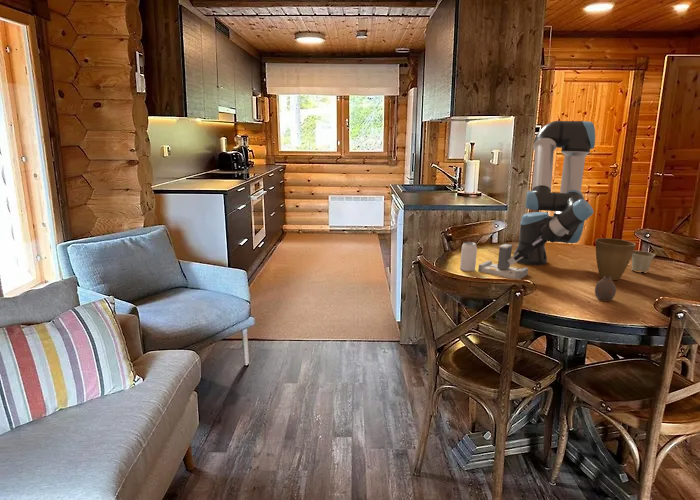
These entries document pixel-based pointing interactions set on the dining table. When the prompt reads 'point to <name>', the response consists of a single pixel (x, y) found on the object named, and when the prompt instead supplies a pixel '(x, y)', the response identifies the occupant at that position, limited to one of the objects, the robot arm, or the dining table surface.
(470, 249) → the can
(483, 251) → the dining table surface
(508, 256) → the fader tab
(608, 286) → the vase
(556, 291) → the dining table surface
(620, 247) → the plant pot
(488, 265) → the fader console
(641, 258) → the flower pot
